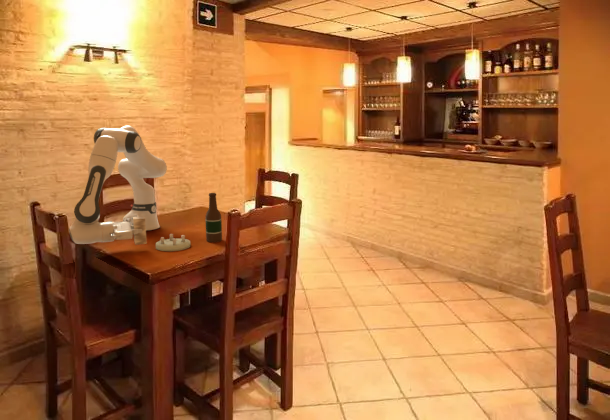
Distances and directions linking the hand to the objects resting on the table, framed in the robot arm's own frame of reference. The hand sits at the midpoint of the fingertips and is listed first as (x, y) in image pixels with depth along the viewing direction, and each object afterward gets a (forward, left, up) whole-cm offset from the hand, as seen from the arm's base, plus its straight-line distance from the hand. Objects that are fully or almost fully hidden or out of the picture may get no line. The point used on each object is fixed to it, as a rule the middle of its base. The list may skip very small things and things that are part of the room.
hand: (141, 228), depth 226 cm
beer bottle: (+21, +27, -10) cm, 36 cm away
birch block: (-1, -1, -7) cm, 7 cm away
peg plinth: (+9, +10, -10) cm, 17 cm away
